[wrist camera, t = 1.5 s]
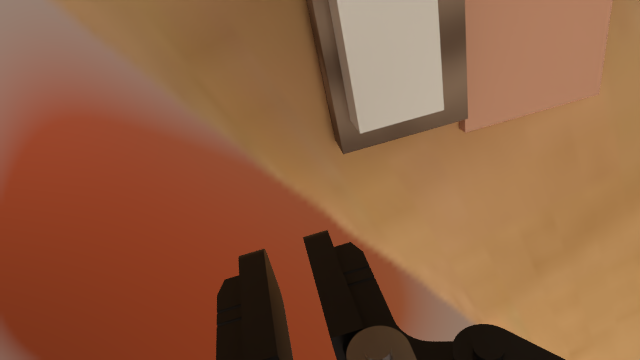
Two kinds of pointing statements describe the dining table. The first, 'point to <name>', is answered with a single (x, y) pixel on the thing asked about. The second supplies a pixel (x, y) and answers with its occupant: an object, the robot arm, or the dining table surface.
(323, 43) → the walnut deck
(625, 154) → the dining table surface
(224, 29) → the dining table surface
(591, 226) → the dining table surface
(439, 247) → the dining table surface
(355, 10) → the cream tile
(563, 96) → the terracotta mat
